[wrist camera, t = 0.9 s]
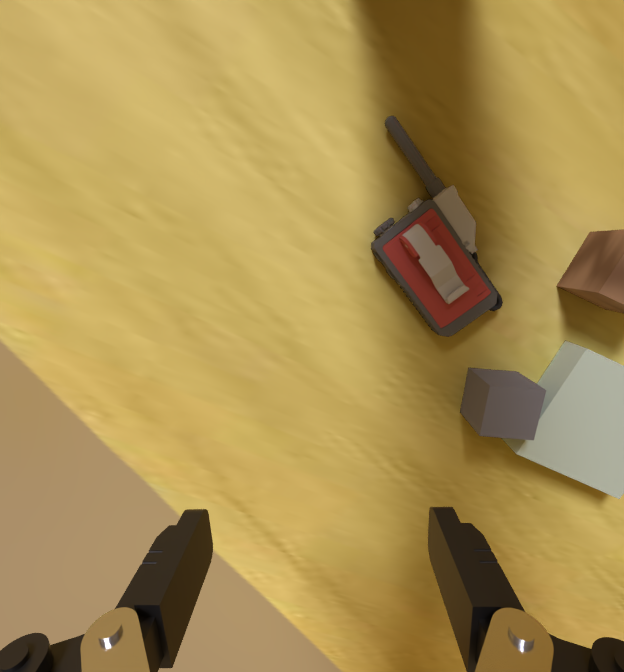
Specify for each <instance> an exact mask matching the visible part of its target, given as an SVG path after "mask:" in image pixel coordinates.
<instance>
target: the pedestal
mask: <svg viewBox="0 0 624 672" xmlns="http://www.w3.org/2000/svg"><path fill="white" fill-rule="evenodd" d="M537 385H539V386H540V387H542V388H544V389H545V390H546V394H545V398H544V402H543V406H542V410H541V414H540V418H539V422H538V426H537V430H536V434H535V438H534V440H523V439H511V438H502V439H503V440H504V442H505V443H506V444H507V445H508V446H509V447H510V448H511V449H512V450H513V451H514V452H515V453H516V454H517V455H520V456H522V457H524V458H526V459H529V460H531V461H533V462H536V463H538V464H540V465H543V466H545V467H547V468H549V469H552V470H554V471H556V472H559V473H561V474H563V475H565V476H568V477H570V478H572V479H575V480H577V481H579V482H581V483H584V484H586V485H588V486H591V487H593V488H595V489H597V490H600V491H602V492H604V493H607V494H609V495H611V496H613V497H616V498H618V499H620V498H621V496H622V495H623V494H624V366H623V365H621V364H619V363H617V362H615V361H612V360H610V359H608V358H606V357H604V356H602V355H600V354H597V353H595V352H593V351H591V350H589V349H587V348H584V347H581V346H579V345H576V344H573V343H571V342H568V341H565V342H564V343H563V345H562V346H561V348H560V349H559V351H558V352H557V354H556V355H555V357H554V359H553V360H552V362H551V363H550V365H549V366H548V368H547V369H546V371H545V372H544V374H543V375H542V377H541V379H540V380H539V382H538V383H537Z"/></svg>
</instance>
